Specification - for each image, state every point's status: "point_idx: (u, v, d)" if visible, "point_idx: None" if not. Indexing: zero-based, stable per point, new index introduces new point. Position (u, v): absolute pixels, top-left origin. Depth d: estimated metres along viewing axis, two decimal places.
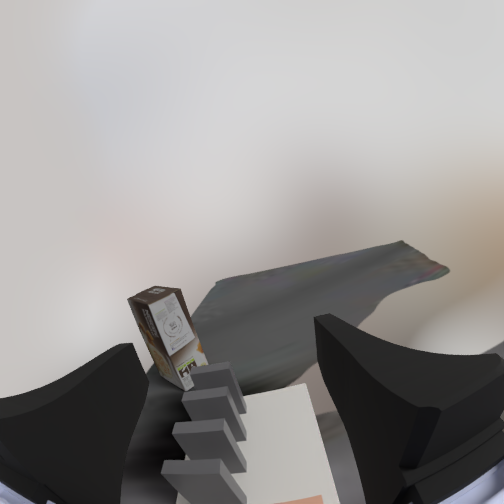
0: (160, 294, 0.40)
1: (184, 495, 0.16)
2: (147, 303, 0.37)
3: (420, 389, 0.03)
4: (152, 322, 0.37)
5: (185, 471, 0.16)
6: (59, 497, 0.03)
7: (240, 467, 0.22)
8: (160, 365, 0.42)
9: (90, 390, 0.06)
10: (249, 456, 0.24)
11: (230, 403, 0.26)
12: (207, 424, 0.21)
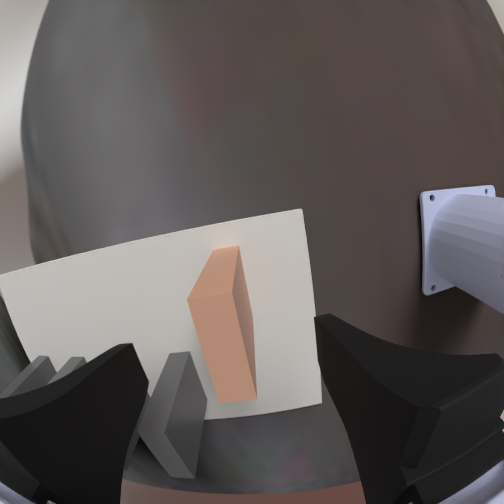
0: None
1: (201, 430, 0.16)
2: None
3: (420, 389, 0.03)
4: None
5: (177, 461, 0.12)
6: (59, 497, 0.03)
7: None
8: None
9: (90, 390, 0.06)
10: None
11: None
12: None
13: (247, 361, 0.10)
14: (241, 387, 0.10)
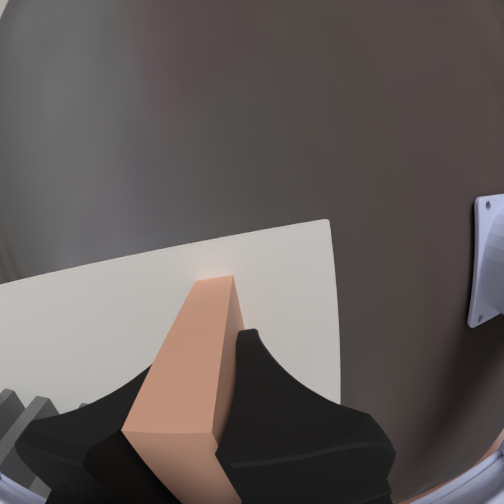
0: None
1: None
2: None
3: (246, 434, 0.03)
4: None
5: None
6: None
7: None
8: None
9: None
10: (71, 398, 0.13)
11: (4, 455, 0.07)
12: None
13: None
14: None
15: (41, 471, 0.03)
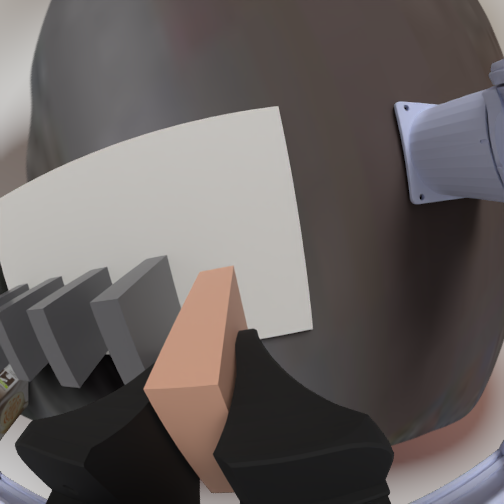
0: None
1: None
2: None
3: (244, 434, 0.03)
4: None
5: (133, 355, 0.11)
6: None
7: (101, 275, 0.17)
8: (16, 409, 0.19)
9: None
10: (83, 267, 0.18)
11: (9, 305, 0.12)
12: (43, 336, 0.11)
13: None
14: None
15: (42, 471, 0.03)
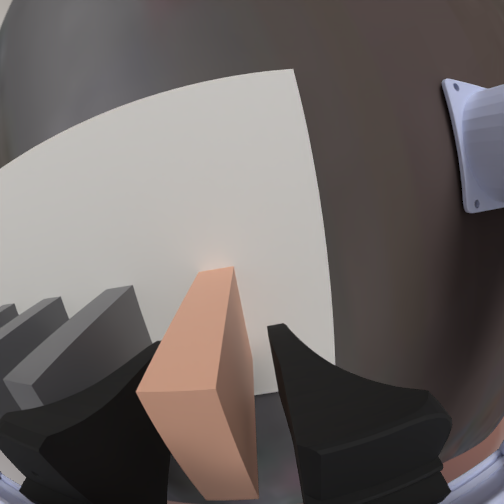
0: None
1: None
2: None
3: (318, 422, 0.03)
4: None
5: None
6: None
7: (51, 310, 0.11)
8: None
9: None
10: (34, 295, 0.12)
11: None
12: None
13: (245, 468, 0.05)
14: (236, 490, 0.05)
15: (14, 458, 0.03)
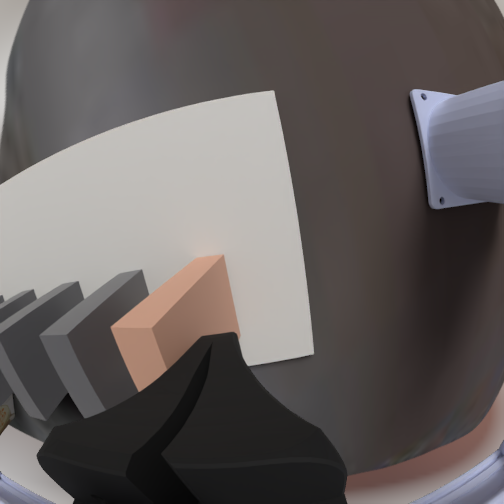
0: None
1: None
2: None
3: (196, 438, 0.03)
4: None
5: (93, 398, 0.08)
6: None
7: (70, 292, 0.14)
8: (1, 422, 0.16)
9: (197, 390, 0.06)
10: (54, 280, 0.15)
11: None
12: (3, 364, 0.08)
13: None
14: None
15: (67, 481, 0.02)
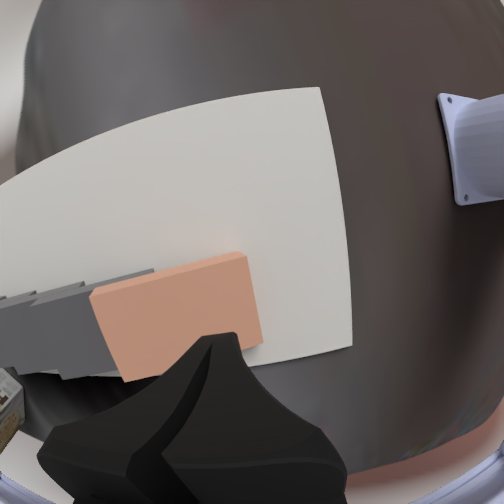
0: None
1: None
2: None
3: (196, 437, 0.03)
4: None
5: None
6: None
7: None
8: (11, 427, 0.16)
9: (197, 390, 0.06)
10: (79, 276, 0.15)
11: None
12: None
13: (110, 350, 0.12)
14: None
15: (67, 481, 0.02)
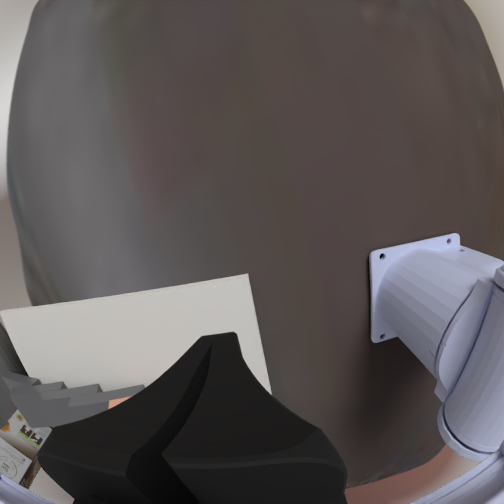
0: None
1: None
2: None
3: (196, 438, 0.03)
4: None
5: None
6: None
7: None
8: None
9: (197, 390, 0.06)
10: (95, 380, 0.21)
11: (17, 394, 0.18)
12: None
13: None
14: None
15: (67, 482, 0.02)
